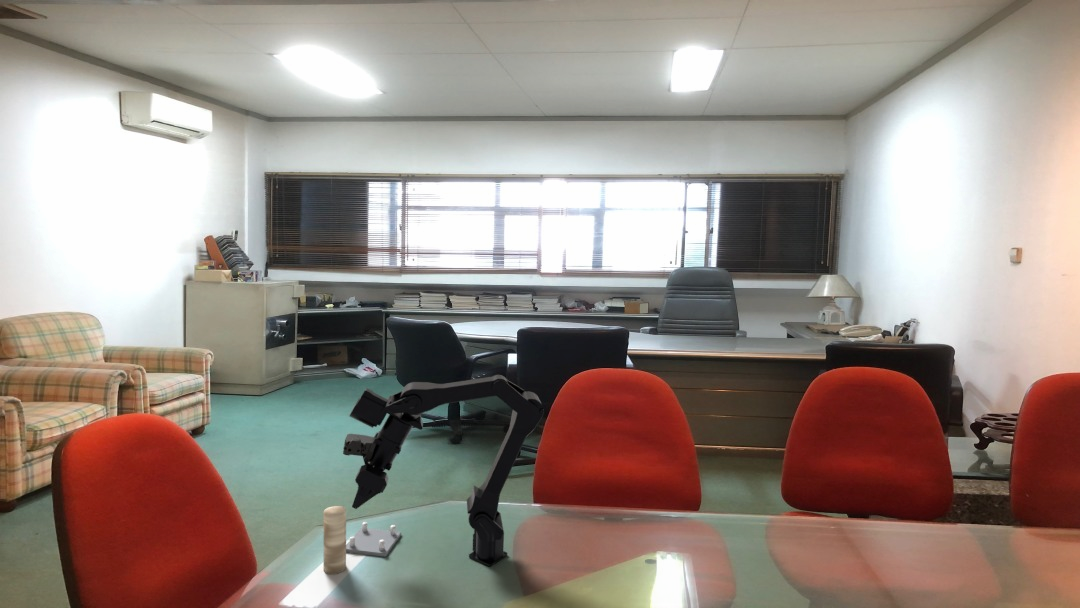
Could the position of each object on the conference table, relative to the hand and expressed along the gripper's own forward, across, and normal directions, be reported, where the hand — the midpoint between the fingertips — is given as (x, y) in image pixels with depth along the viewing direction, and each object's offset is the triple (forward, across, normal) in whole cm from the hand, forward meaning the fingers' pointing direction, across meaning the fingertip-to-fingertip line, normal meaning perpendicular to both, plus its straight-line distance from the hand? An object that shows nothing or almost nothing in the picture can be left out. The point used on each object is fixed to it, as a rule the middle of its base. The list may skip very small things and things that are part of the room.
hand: (356, 498), depth 137 cm
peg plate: (+12, -7, +9) cm, 16 cm away
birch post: (+15, +3, +3) cm, 15 cm away
